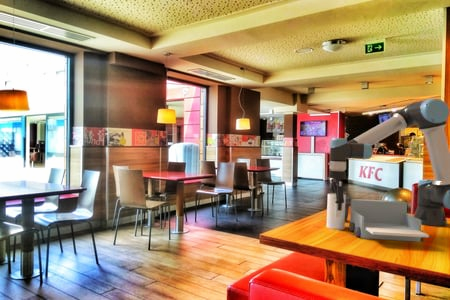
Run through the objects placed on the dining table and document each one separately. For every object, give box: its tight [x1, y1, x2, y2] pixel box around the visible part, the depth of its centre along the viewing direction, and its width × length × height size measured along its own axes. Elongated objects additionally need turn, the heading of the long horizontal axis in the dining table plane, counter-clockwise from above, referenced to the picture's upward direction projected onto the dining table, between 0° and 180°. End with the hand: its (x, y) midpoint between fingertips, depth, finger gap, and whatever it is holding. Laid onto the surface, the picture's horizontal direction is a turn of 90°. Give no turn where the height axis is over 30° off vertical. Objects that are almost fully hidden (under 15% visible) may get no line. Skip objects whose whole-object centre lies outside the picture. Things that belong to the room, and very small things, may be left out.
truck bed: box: [348, 198, 425, 243], centre depth 148 cm, size 27×18×14 cm, turn 83°
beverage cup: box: [343, 190, 352, 223], centre depth 173 cm, size 7×7×20 cm
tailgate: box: [366, 227, 430, 238], centre depth 134 cm, size 21×1×9 cm
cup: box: [326, 192, 346, 231], centre depth 158 cm, size 8×8×16 cm
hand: (335, 214), depth 158 cm, fingers open, 13 cm apart
